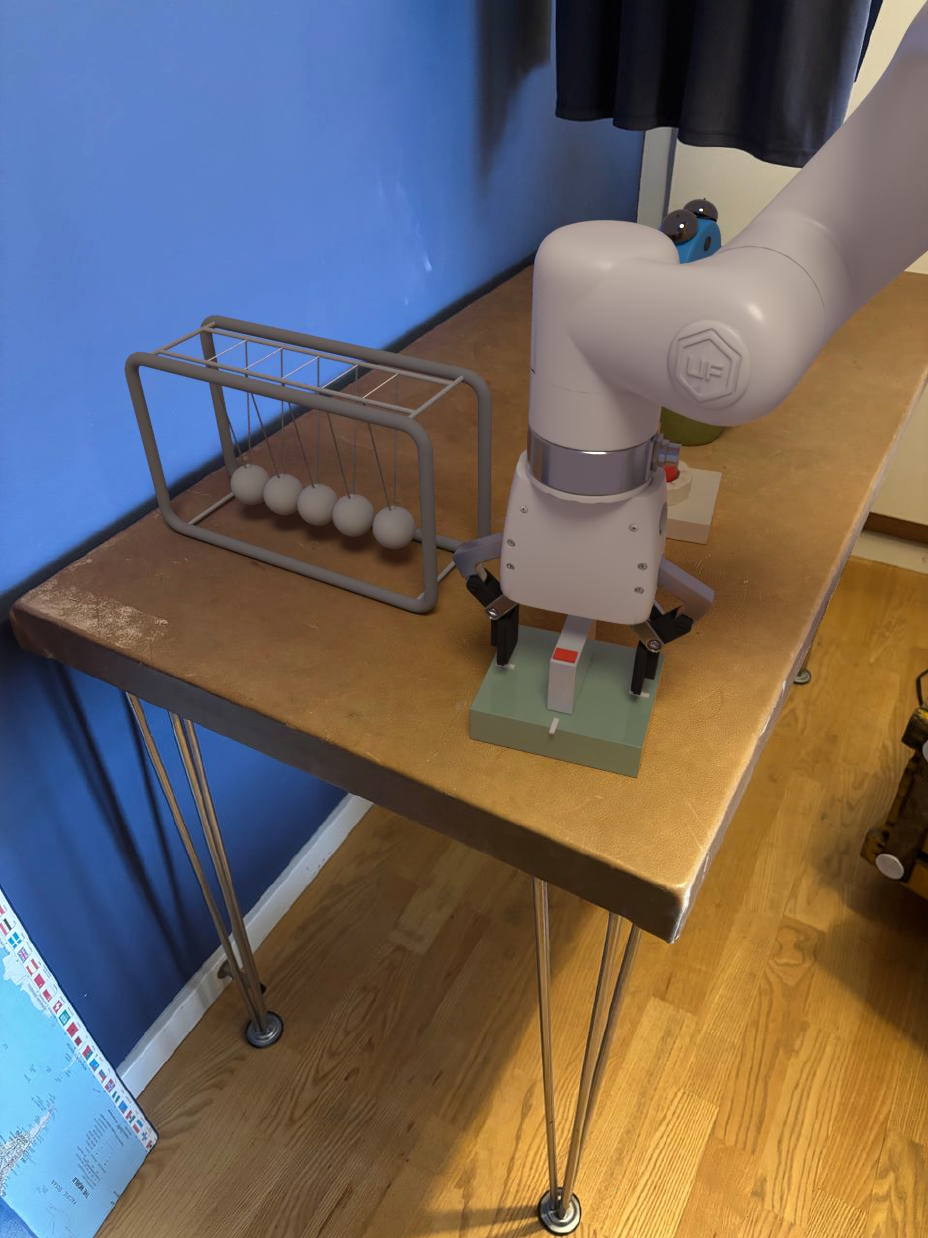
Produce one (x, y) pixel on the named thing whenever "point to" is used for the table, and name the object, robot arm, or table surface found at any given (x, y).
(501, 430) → the table surface
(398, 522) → the newton's cradle
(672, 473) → the button
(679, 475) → the button block
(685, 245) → the alarm clock
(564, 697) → the tap handle
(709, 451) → the table surface
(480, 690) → the panel
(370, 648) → the table surface
